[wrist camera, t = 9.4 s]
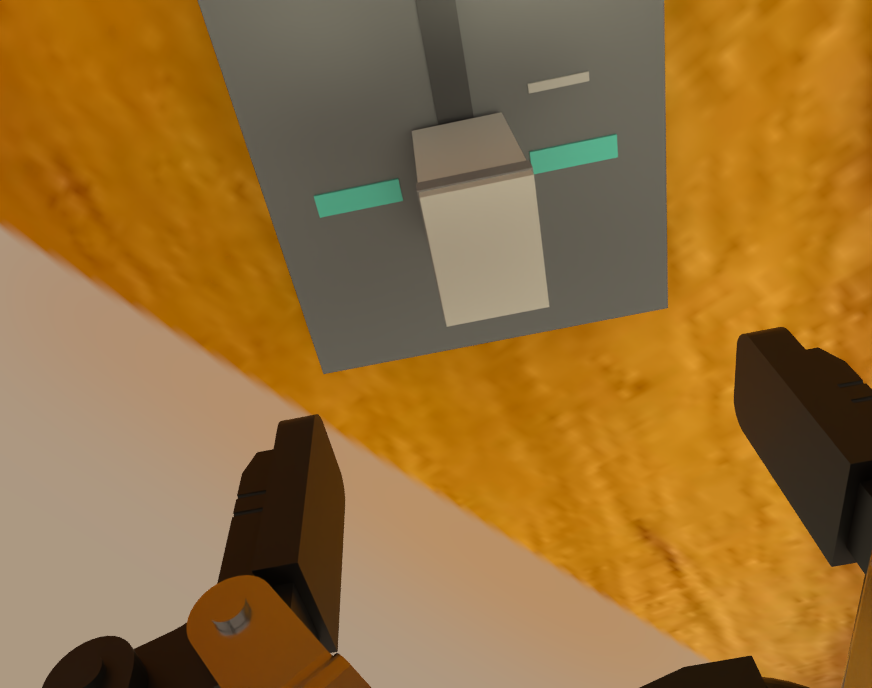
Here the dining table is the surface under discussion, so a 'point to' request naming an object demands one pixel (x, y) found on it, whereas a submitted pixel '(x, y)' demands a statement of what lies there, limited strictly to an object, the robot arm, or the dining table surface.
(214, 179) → the dining table surface
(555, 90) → the console
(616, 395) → the dining table surface
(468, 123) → the fader tab
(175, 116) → the dining table surface
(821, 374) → the robot arm
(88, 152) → the dining table surface
